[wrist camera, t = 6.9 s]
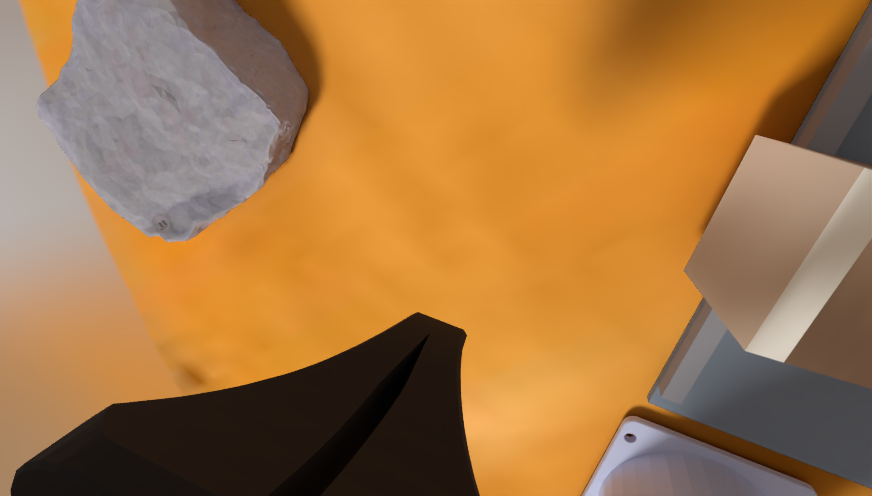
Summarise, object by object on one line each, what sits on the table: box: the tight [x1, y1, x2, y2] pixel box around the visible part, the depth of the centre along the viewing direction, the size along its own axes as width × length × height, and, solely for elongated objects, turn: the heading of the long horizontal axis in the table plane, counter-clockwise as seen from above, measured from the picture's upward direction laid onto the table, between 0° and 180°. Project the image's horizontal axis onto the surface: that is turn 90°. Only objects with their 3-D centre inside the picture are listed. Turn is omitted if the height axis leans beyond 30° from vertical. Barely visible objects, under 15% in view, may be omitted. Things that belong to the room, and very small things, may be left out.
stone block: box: [36, 0, 309, 242], centre depth 21 cm, size 12×5×10 cm
